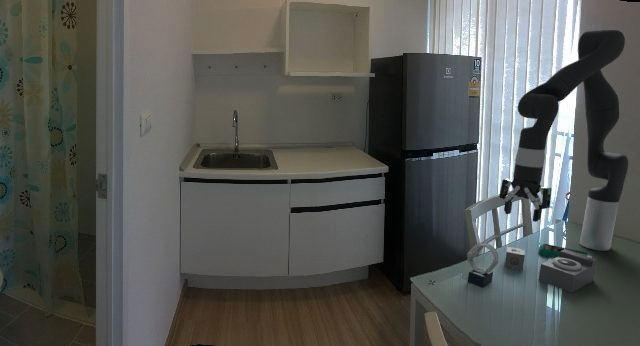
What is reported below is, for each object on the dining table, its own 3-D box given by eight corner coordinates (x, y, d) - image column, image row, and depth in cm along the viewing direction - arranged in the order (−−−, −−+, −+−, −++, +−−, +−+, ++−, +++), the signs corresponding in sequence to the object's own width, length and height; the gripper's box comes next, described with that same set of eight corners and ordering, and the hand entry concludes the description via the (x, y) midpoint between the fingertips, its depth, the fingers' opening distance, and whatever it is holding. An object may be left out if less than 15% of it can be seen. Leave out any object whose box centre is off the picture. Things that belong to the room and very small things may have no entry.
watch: (470, 274, 129) (475, 238, 127) (497, 284, 124) (503, 246, 122) (460, 279, 125) (465, 242, 123) (488, 290, 120) (494, 250, 118)
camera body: (561, 269, 136) (565, 247, 135) (593, 280, 130) (597, 257, 128) (538, 280, 128) (542, 256, 126) (571, 292, 121) (575, 267, 120)
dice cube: (505, 261, 141) (507, 246, 140) (522, 265, 139) (524, 249, 138) (504, 267, 136) (506, 251, 135) (522, 271, 134) (524, 255, 133)
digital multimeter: (539, 249, 154) (541, 241, 154) (590, 260, 147) (591, 252, 146) (537, 256, 148) (538, 247, 148) (589, 267, 140) (591, 259, 140)
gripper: (560, 167, 128) (551, 222, 131) (513, 158, 139) (505, 209, 142) (547, 169, 124) (538, 226, 127) (499, 160, 134) (492, 212, 138)
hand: (521, 217), depth 135 cm, fingers open, 8 cm apart
